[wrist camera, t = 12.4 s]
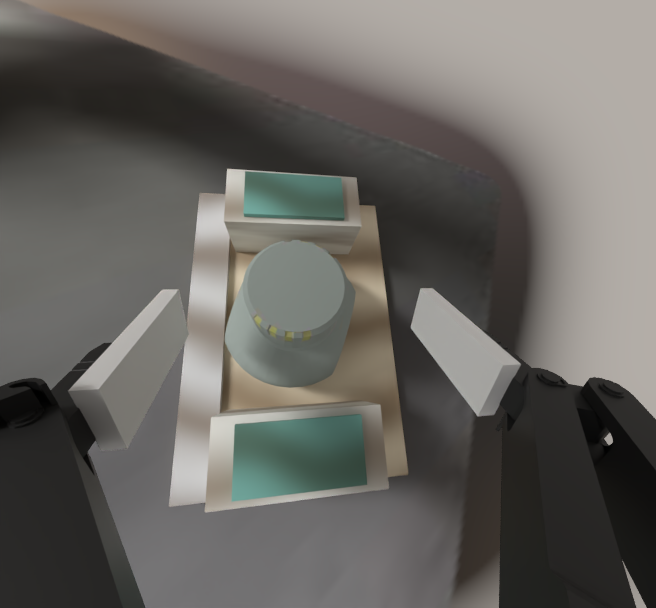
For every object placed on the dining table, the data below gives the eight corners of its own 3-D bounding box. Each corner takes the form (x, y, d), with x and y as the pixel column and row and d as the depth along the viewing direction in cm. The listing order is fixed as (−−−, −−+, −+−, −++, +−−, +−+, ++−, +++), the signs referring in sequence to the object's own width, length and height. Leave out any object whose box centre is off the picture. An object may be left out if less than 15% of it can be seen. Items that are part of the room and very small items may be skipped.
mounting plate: (204, 203, 27) (181, 151, 21) (372, 211, 30) (393, 167, 24) (177, 497, 20) (129, 547, 14) (403, 470, 23) (446, 502, 16)
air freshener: (319, 398, 22) (343, 409, 13) (224, 370, 22) (177, 359, 12) (350, 284, 26) (388, 227, 16) (269, 258, 25) (259, 183, 16)
